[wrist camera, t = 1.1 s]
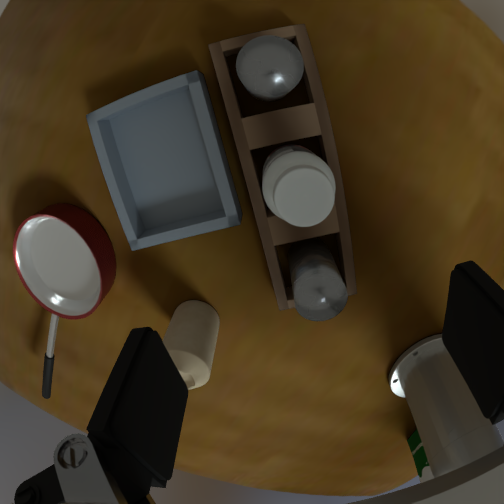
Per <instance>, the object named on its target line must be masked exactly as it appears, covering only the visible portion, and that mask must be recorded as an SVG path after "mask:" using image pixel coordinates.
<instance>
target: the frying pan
mask: <svg viewBox="0 0 504 504" xmlns="http://www.w3.org/2000/svg"><path fill="white" fill-rule="evenodd" d="M13 255H14V262H15V266H16V270H17V272H18V275H19V277H20V279H21V281H22V283H23V285H24V287H25V288H26V290H27V291H28V292H29V294H30V295H31V296H32V297H33V298H34V299H35V301H36V302H37V303H38V304H40V305H41V306H42V307H43V308H45V309H46V310H48V311H49V312H51V313H52V317H51V323H50V330H49V337H48V345H47V352H46V353H45V359H44V371H43V386H42V396H43V397H44V398H46V399H48V398H50V396H51V384H52V374H53V365H54V354H53V352H54V345H55V338H56V331H57V325H58V319H59V317H62V318H66V319H81V318H85V317H87V316H89V315H90V314H92V313H93V312H94V311H95V309H96V308H97V307H98V306H99V304H100V303H101V302H102V300H103V299H104V298H105V296H106V295H107V294H108V292H109V291H110V289H111V287H112V285H113V283H114V279H115V276H116V259H115V253H114V250H113V247H112V244H111V242H110V240H109V237H108V235H107V234H106V232H105V231H104V229H103V228H102V226H101V225H100V224H99V223H98V222H97V221H96V219H95V218H94V217H93V216H91V215H90V214H89V213H87V212H86V211H85V210H83V209H81V208H79V207H77V206H74V205H70V204H65V203H57V204H54V205H50V206H48V207H46V208H44V209H43V210H41V211H39V212H37V213H36V214H34V215H32V216H30V217H29V218H27V219H26V220H24V221H23V222H22V224H21V225H20V226H19V228H18V229H17V231H16V234H15V238H14V242H13Z"/></svg>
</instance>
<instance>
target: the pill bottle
mask: <svg viewBox="0 0 504 504" xmlns="http://www.w3.org/2000/svg"><path fill="white" fill-rule="evenodd" d="M335 189H336V186H335V179H334V176H333V173H332V171H331V169H330V168H329V166H328V165H327V164H326V163H325V162H324V161H323V160H322V159H321V158H320V157H318V156H317V155H315V154H314V153H313V152H311V151H310V150H308V149H307V148H305V147H303V146H300V145H295V144H287V145H283V146H280V147H278V148H276V149H275V150H274V151H272V152H271V153H270V154H269V156H268V157H267V159H266V161H265V163H264V166H263V179H262V192H263V196H264V199H265V202H266V204H267V205H268V207H269V208H270V210H271V211H272V212H273V213H274V214H275V215H276V216H278V217H279V218H281V219H283V220H285V221H286V222H288V223H290V224H292V225H295V226H299V227H310V226H313V225H316V224H318V223H320V222H322V221H323V220H324V219H325V218H326V217H327V216H328V215H329V214H330V212H331V210H332V208H333V205H334V201H335Z"/></svg>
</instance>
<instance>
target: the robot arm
mask: <svg viewBox="0 0 504 504" xmlns="http://www.w3.org/2000/svg"><path fill="white" fill-rule="evenodd" d="M389 385H390V387H391V390H392V391H393V392H394V393H395V394H396V395H398V396H400V397H405V398H406V400H407V402H408V405H409V408H410V410H411V413H412V416H413V418H414V421H415V424H416V427H417V430H418V432H419V435H420V438H421V441H422V444H423V447H424V450H425V453H426V456H427V459H428V462H429V465H430V469H431V472H432V474H433V476H434V478H433V479H431V480H428V481H425V482H423V483H420V484H417V485H414V486H411V487H408V488H405V489H402V490H398V491H395V492H392V493H388V494H385V495H381V496H377V497H374V498H370V499H365V500H361V501H357V502H353V503H348V504H504V441H503V439H502V436H501V434H500V432H499V430H498V428H497V427H496V423H498V422H500V421H502V420H503V419H504V290H503V289H502V288H501V287H500V286H499V285H498V284H497V283H496V282H495V281H494V280H493V279H492V278H491V277H490V276H489V275H488V274H487V273H485V272H484V271H483V270H482V269H481V268H480V267H479V266H478V265H477V264H476V263H475V262H473V261H467V262H464V263H460V264H457V265H456V266H455V268H454V270H453V271H452V272H451V276H450V285H449V293H448V301H447V308H446V314H445V320H444V326H443V331H442V334H438V335H433V336H430V337H427V338H425V339H423V340H421V341H419V342H418V343H416V344H414V345H413V346H411V347H410V348H409V349H408V350H406V351H405V352H404V353H403V354H402V355H401V356H400V357H399V358H398V360H397V361H396V362H395V364H394V365H393V367H392V369H391V371H390V374H389ZM187 398H188V388H187V385H186V383H185V381H184V380H183V378H182V376H181V374H180V373H179V371H178V369H177V367H176V365H175V364H174V362H173V360H172V358H171V356H170V355H169V353H168V351H167V349H166V347H165V345H164V343H163V341H162V339H161V338H160V336H159V334H158V332H157V331H153V330H152V328H150V327H143V328H135V329H132V330H131V332H130V334H129V336H128V338H127V340H126V342H125V344H124V346H123V348H122V350H121V352H120V355H119V357H118V359H117V361H116V363H115V365H114V367H113V369H112V372H111V374H110V376H109V378H108V380H107V383H106V385H105V387H104V389H103V392H102V394H101V396H100V398H99V401H98V403H97V405H96V408H95V410H94V412H93V415H92V417H91V419H90V422H89V424H88V427H87V430H88V432H89V433H88V436H87V437H86V436H85V435H83V434H72V435H69V436H67V437H66V438H64V439H63V440H61V442H60V443H59V444H58V445H57V447H56V449H55V451H54V456H53V457H54V464H53V465H52V466H50V467H48V468H47V469H45V470H43V471H42V472H40V473H38V474H37V475H35V476H33V477H31V478H30V479H28V480H26V481H24V482H23V483H22V484H20V486H19V487H18V488H17V490H16V493H15V498H14V500H15V504H156V503H155V502H154V500H153V499H152V497H151V495H150V494H149V491H150V487H151V486H152V487H162V488H166V483H167V480H170V479H171V477H172V473H173V468H174V462H175V457H176V452H177V447H178V442H179V437H180V432H181V427H182V422H183V417H184V412H185V408H186V403H187ZM11 504H13V503H11Z"/></svg>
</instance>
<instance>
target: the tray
mask: <svg viewBox="0 0 504 504" xmlns="http://www.w3.org/2000/svg"><path fill="white" fill-rule="evenodd" d="M86 118H87V121H88V125H89V128H90V132H91V135H92V139H93V142H94V146H95V149H96V152H97V155H98V158H99V162H100V165H101V168H102V171H103V174H104V177H105V180H106V183H107V186H108V189H109V192H110V194H111V197H112V200H113V203H114V206H115V208H116V211H117V214H118V216H119V219H120V222H121V224H122V227H123V229H124V232H125V235H126V237H127V240H128V242H129V245H130V247H131V249H132V251H134V250H138V249H142V248H146V247H150V246H154V245H158V244H162V243H166V242H170V241H174V240H178V239H182V238H186V237H190V236H194V235H198V234H202V233H207V232H211V231H215V230H219V229H224V228H228V227H232V226H236V225H240V223H241V218H242V211H241V207H240V204H239V200H238V196H237V193H236V189H235V186H234V182H233V178H232V175H231V171H230V168H229V164H228V161H227V157H226V153H225V150H224V146H223V143H222V139H221V135H220V132H219V128H218V125H217V121H216V117H215V114H214V110H213V107H212V103H211V99H210V96H209V92H208V89H207V85H206V82H205V78H204V74H202V73H200V72H199V71H197V70H196V71H193V72H189V73H186V74H183V75H180V76H178V77H175V78H172V79H169V80H166V81H164V82H161V83H158V84H155V85H153V86H150V87H148V88H145V89H143V90H140V91H138V92H135V93H133V94H131V95H128V96H126V97H124V98H121V99H119V100H117V101H115V102H112V103H110V104H108V105H106V106H104V107H102V108H100V109H98V110H95V111H93V112H91V113H89V114H87V115H86Z"/></svg>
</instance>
